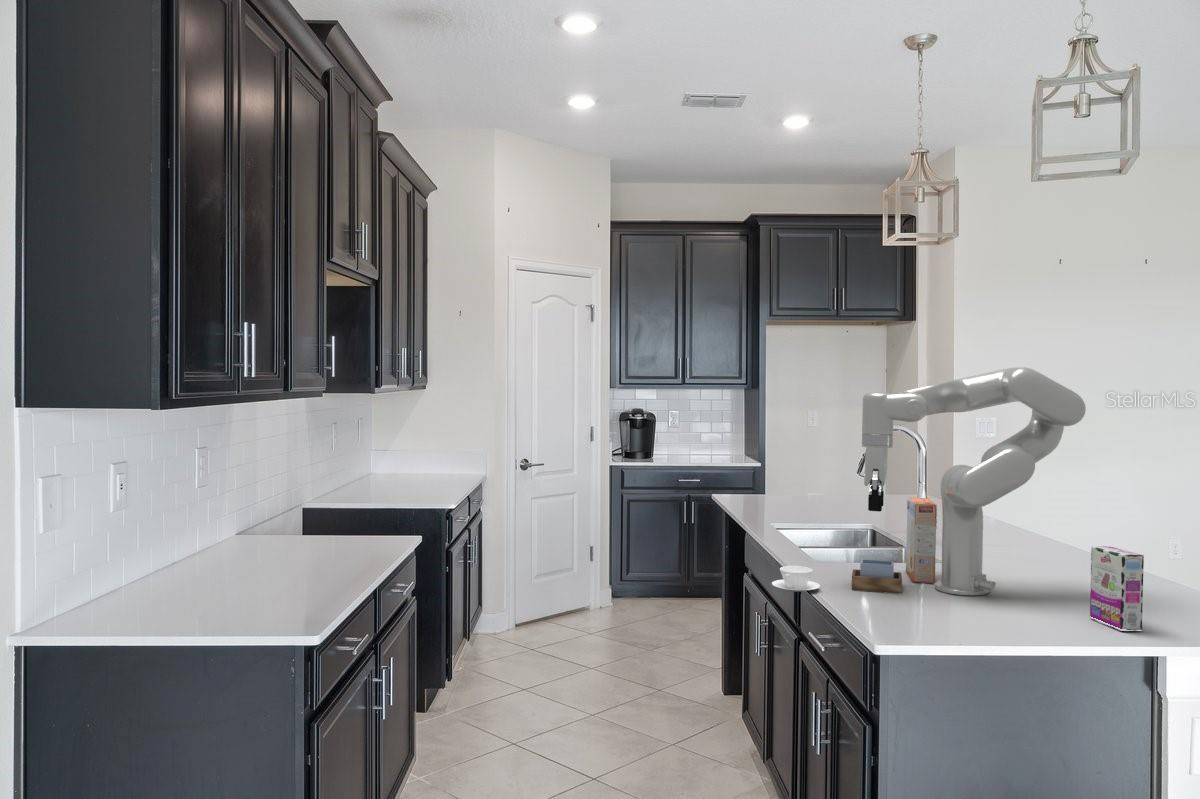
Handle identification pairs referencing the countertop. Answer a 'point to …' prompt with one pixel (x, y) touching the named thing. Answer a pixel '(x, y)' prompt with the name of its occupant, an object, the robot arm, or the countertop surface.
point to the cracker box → (921, 540)
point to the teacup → (796, 579)
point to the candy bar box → (1117, 587)
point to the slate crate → (876, 568)
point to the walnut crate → (877, 583)
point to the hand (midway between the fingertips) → (875, 508)
